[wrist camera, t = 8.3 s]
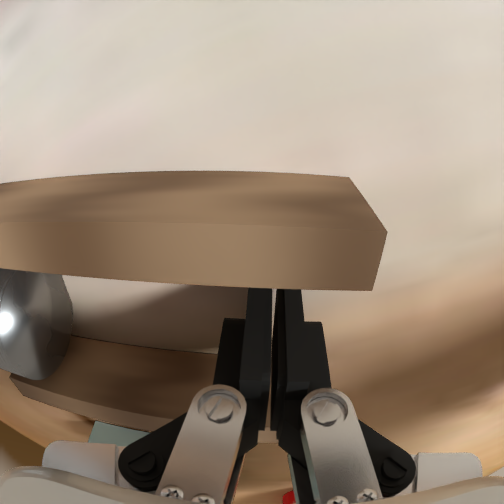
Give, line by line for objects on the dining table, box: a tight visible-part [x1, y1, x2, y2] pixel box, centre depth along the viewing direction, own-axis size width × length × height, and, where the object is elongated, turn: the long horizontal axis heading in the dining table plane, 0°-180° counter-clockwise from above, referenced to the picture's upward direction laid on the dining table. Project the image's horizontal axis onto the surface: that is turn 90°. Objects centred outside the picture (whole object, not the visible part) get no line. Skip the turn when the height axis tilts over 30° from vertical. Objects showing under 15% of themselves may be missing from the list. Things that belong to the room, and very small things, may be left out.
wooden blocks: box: [0, 171, 387, 443], centre depth 10 cm, size 14×10×4 cm
